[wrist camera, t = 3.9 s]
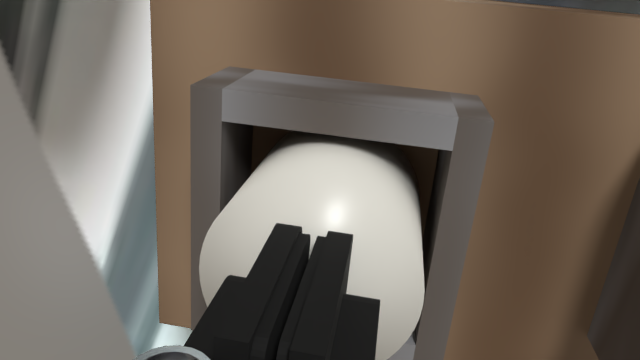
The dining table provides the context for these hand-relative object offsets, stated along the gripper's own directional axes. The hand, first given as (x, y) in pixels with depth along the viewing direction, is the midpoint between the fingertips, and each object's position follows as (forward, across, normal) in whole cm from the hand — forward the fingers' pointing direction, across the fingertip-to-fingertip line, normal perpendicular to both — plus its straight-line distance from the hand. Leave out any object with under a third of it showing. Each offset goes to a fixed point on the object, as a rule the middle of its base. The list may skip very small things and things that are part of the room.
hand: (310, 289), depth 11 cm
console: (+11, -6, 0) cm, 13 cm away
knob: (+5, 0, 0) cm, 5 cm away
